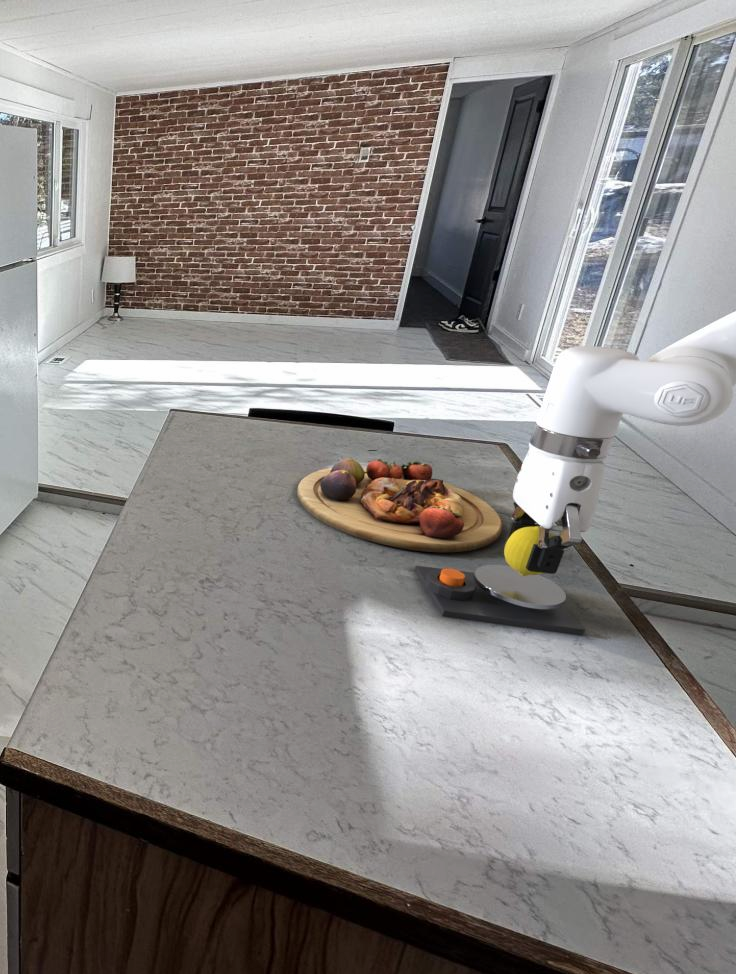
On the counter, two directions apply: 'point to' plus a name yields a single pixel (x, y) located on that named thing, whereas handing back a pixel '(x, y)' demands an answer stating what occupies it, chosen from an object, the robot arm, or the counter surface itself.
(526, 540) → the lemon
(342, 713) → the counter surface
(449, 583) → the tare button
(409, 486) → the wooden plate
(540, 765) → the counter surface
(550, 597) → the scale pan
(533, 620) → the scale
